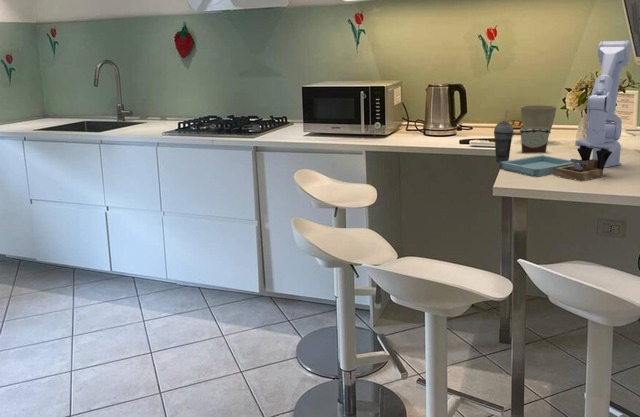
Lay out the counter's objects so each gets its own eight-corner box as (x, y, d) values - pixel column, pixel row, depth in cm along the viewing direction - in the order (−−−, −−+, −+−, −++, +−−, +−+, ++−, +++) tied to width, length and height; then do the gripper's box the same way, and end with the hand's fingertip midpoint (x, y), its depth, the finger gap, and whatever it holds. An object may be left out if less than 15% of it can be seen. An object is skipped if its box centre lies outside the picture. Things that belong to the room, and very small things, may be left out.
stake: (573, 173, 219) (574, 158, 218) (588, 176, 214) (589, 160, 212) (567, 175, 218) (568, 159, 216) (582, 178, 213) (583, 162, 211)
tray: (541, 161, 241) (542, 155, 240) (579, 168, 227) (579, 161, 226) (499, 168, 231) (499, 162, 230) (535, 176, 216) (536, 169, 216)
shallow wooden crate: (583, 169, 225) (584, 157, 224) (610, 175, 216) (611, 162, 214) (553, 175, 218) (554, 162, 217) (580, 181, 209) (581, 167, 207)
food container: (545, 150, 263) (547, 126, 261) (549, 152, 258) (551, 128, 255) (515, 150, 265) (516, 126, 262) (518, 153, 259) (519, 128, 256)
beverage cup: (503, 159, 247) (505, 108, 242) (516, 162, 241) (519, 109, 236) (488, 161, 244) (490, 109, 239) (501, 164, 238) (503, 111, 233)
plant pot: (560, 142, 280) (563, 106, 276) (542, 146, 271) (544, 109, 267) (530, 139, 292) (532, 104, 287) (512, 143, 282) (513, 107, 278)
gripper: (570, 128, 220) (567, 167, 223) (607, 133, 207) (603, 174, 211) (584, 126, 223) (581, 164, 226) (621, 131, 211) (617, 171, 214)
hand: (592, 169), depth 219 cm, fingers open, 5 cm apart
